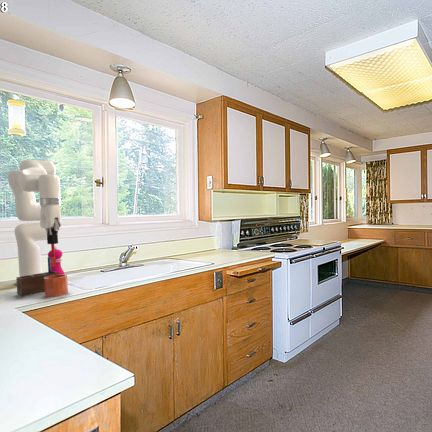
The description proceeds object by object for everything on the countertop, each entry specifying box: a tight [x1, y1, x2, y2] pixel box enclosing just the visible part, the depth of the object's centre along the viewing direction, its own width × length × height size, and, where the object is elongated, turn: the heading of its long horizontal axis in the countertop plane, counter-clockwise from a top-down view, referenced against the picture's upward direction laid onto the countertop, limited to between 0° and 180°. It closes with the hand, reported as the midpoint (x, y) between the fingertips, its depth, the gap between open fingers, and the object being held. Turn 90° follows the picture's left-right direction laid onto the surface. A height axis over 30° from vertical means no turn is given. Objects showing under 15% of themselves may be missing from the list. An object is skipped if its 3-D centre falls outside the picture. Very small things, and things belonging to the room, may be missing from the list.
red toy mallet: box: [50, 244, 56, 267], centre depth 141 cm, size 3×1×16 cm, turn 57°
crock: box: [44, 273, 69, 298], centre depth 142 cm, size 8×8×9 cm
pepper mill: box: [47, 245, 66, 274], centre depth 162 cm, size 7×7×20 cm
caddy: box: [15, 271, 59, 297], centre depth 147 cm, size 5×15×9 cm, turn 148°
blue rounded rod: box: [47, 256, 51, 274], centre depth 151 cm, size 3×1×16 cm, turn 57°
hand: (52, 243), depth 141 cm, fingers closed on red toy mallet, 1 cm apart
